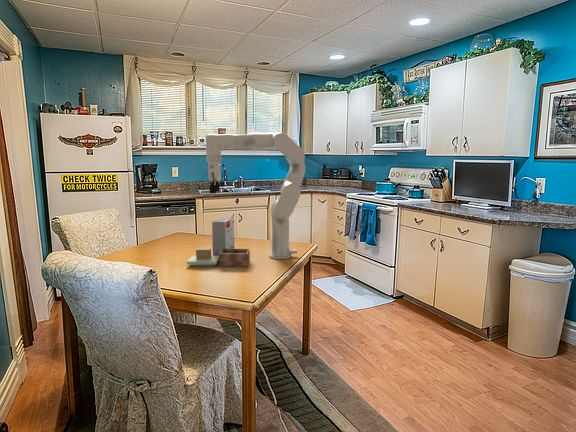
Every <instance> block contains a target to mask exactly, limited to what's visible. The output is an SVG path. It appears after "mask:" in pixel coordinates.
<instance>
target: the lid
mask: <svg viewBox="0 0 576 432" xmlns="http://www.w3.org/2000/svg"><path fill="white" fill-rule="evenodd" d="M219 262H220V256H213V255H212V248H211V247H209V248H208V247H207V248H206V247H205V248H203V247H201V248H200V247H199V248H198V247H197V248H196V249H195V255H191V257H189V259H188V260H187V261H186V265H214V264H216V265H217V264H218V263H219Z"/></svg>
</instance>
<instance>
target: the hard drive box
mask: <svg viewBox="0 0 576 432" xmlns="http://www.w3.org/2000/svg"><path fill="white" fill-rule="evenodd" d="M211 224H212V225H211V228H212V229H211V231H212V232H211V234H212V238H211V239H212V246H211V247H212V248H211V249H212V256H219V254H220V252H221V251H222V249H236V247H235V242H236V241H235V238H236V237H235V218H234V217H221V218H218V219H216V220H213V221H212V222H211Z"/></svg>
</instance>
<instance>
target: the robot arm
mask: <svg viewBox="0 0 576 432" xmlns="http://www.w3.org/2000/svg"><path fill="white" fill-rule="evenodd" d="M222 149H226V150H251V151H252V150H253V151H256V150H260V151H261V150H266V151H267V150H271V151H272V150H278V151H279V152H280V153H281V154H282V155H283V156H284V157H285V159H286V161H287V162H288V164H289V170H288V172H287V174H286V177H285V178H284V180H283V183H282V185H281V187H280V196H279V198H278V199H276V200H274V201H273V202H272V204H271V207H270V215H271V216H270V217H271V252H270V253H269V254H268V257H269V258H271V259H274V260H286V259H287V260H288V259H290V258H292V256H293V254H298V249H291V248H290V217H291V216H292V214H293V213H294V211H295V208H296V206H297V204H298V202H299V200H300V198H301V193H302V190H301V187H300V185H301V184H302V181H303V179H304V177H305V174H306V163H305V158H306V154H305V153H306V152H304V149H302V147H300V145H298V144H297V143H296V142H295V141H294V140H293V139H292V138H291V137H290V136H289V135H288V134H286V133H285V132H281V131H279V132H253V133H252V132H251V133H248V134H247V133H246V134H231V133H225V134H224V133H223V134H217V133H216V134H215V133H213V134H212V133H210V134H206V135H205V159H206V162H207V163H208V167H207V168H208V181H209V193H210V194H216V193H217V192H220V191H221V190H220V189H221V188H220V185H221V184H220V181H221V180H222V172H221V162H222Z"/></svg>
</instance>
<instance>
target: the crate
mask: <svg viewBox="0 0 576 432" xmlns="http://www.w3.org/2000/svg"><path fill="white" fill-rule="evenodd" d="M250 253H251V252H250V248H235V249H222V251H221V252H220V254H219V256H220V259H219V268H249V265H250V262H251V259H250V258H251V254H250Z"/></svg>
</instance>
